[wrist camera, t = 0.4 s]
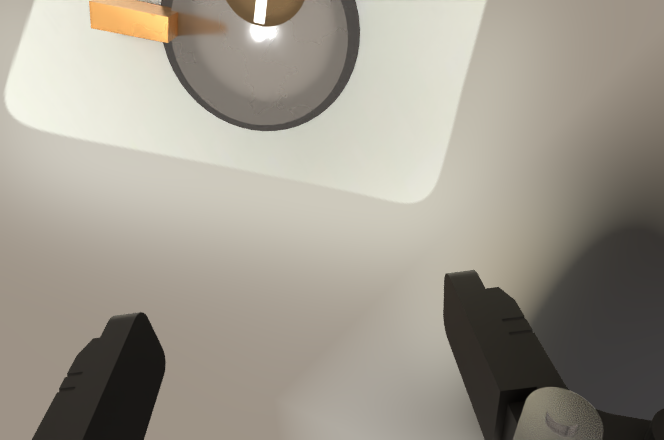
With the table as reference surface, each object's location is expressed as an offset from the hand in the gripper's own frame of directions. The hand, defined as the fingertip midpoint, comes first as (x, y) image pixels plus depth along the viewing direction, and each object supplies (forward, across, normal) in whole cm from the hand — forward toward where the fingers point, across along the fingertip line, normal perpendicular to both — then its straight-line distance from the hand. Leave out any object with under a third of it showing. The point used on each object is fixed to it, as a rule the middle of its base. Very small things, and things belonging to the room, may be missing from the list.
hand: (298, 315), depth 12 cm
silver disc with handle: (+25, +4, -4) cm, 25 cm away
